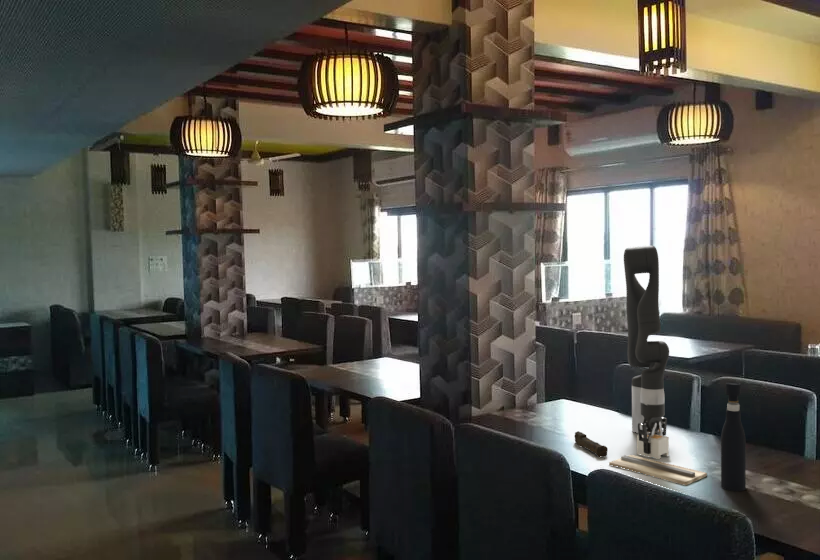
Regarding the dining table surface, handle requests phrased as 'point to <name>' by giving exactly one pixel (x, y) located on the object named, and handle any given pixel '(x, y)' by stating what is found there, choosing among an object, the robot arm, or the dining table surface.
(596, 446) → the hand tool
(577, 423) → the dining table surface
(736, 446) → the wine bottle
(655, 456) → the block
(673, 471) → the rail board
